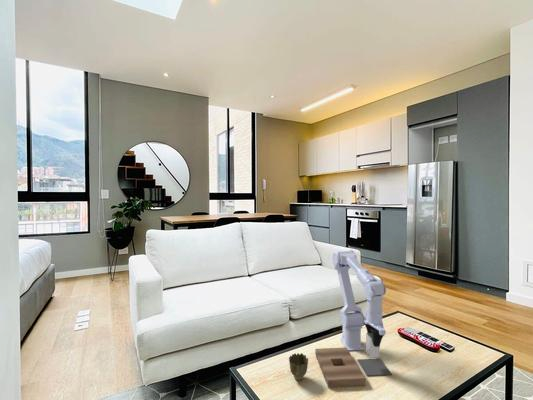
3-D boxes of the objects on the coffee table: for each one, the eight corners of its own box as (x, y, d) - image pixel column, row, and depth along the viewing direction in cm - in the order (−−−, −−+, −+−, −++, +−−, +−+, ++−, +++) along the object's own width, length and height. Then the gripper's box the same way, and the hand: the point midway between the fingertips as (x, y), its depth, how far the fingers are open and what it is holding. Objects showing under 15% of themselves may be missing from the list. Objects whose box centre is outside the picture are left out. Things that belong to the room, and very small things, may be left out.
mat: (357, 360, 121) (357, 359, 121) (380, 359, 122) (380, 358, 122) (367, 376, 111) (367, 375, 111) (391, 375, 112) (391, 373, 112)
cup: (285, 374, 112) (285, 355, 112) (302, 370, 115) (302, 351, 115) (294, 387, 105) (294, 366, 105) (311, 382, 108) (311, 361, 108)
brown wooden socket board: (315, 355, 125) (315, 348, 125) (346, 353, 126) (346, 347, 126) (328, 387, 105) (328, 380, 105) (364, 385, 106) (365, 378, 106)
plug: (365, 351, 118) (366, 332, 117) (374, 351, 118) (375, 332, 118) (369, 357, 114) (370, 337, 113) (379, 357, 114) (380, 337, 114)
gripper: (358, 303, 122) (357, 334, 123) (372, 319, 107) (372, 353, 108) (374, 302, 122) (373, 333, 123) (390, 318, 108) (390, 353, 109)
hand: (374, 343), depth 116 cm, fingers closed on plug, 4 cm apart
